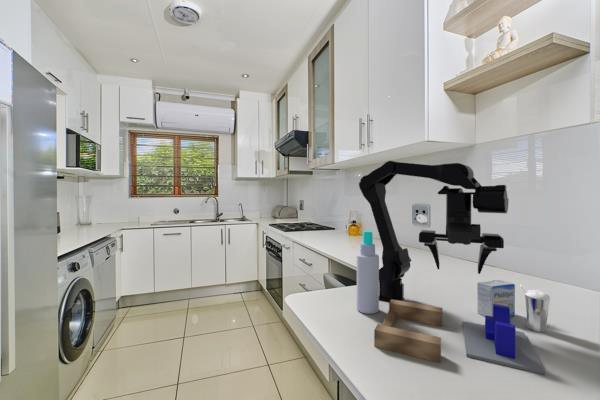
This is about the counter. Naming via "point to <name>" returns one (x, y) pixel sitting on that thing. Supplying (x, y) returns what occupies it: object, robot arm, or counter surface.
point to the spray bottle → (367, 276)
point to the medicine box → (495, 296)
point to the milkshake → (537, 309)
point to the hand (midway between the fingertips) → (458, 271)
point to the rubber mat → (486, 351)
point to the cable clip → (501, 331)
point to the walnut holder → (406, 339)
